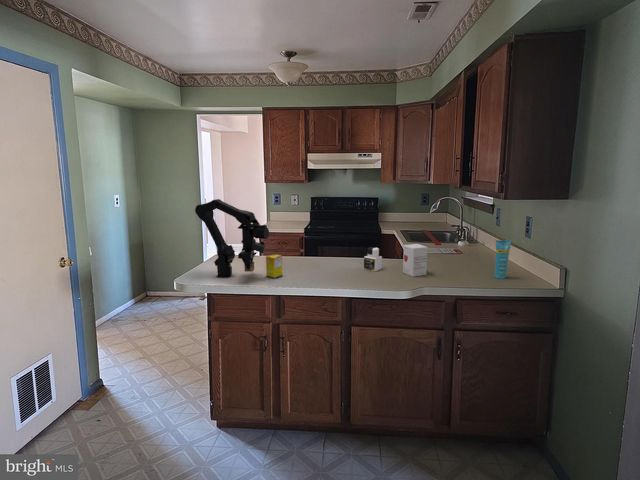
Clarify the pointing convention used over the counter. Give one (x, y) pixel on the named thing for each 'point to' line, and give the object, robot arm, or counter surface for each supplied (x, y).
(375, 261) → the medicine bottle
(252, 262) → the walnut cube
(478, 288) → the counter surface
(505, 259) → the tube
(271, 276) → the supplement box
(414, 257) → the supplement box
